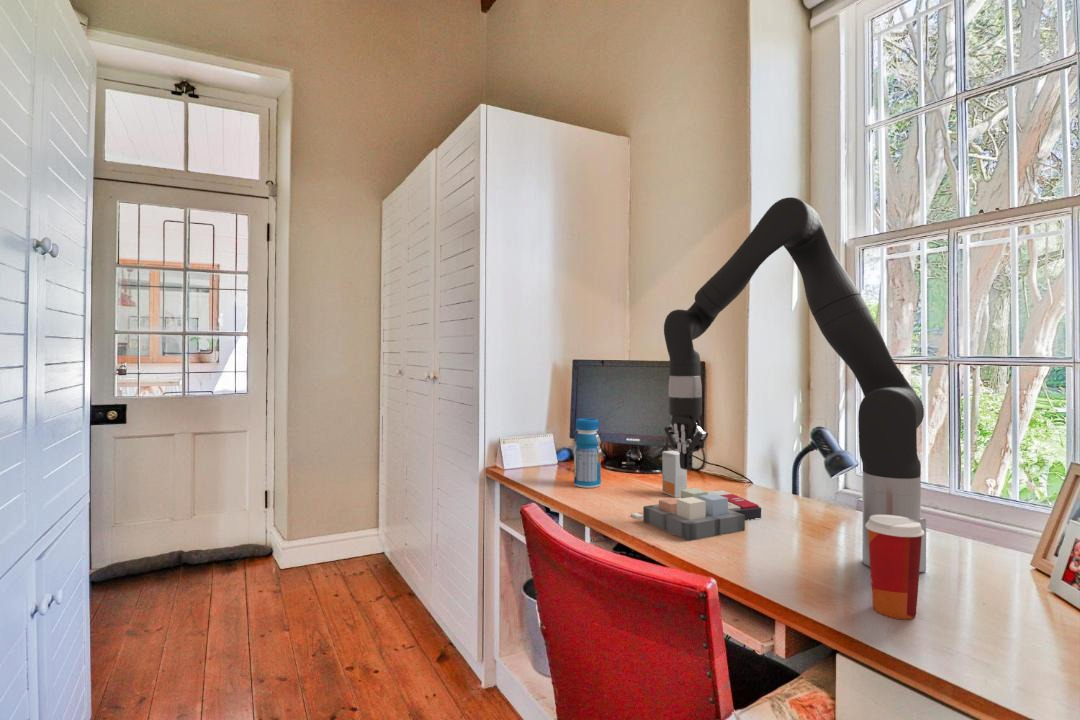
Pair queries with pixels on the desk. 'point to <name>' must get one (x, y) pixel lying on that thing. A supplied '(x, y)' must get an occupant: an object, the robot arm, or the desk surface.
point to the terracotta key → (668, 505)
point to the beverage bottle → (587, 454)
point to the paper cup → (894, 564)
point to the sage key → (692, 493)
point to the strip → (637, 515)
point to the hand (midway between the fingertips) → (685, 468)
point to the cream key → (691, 508)
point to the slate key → (715, 504)
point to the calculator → (740, 505)
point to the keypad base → (694, 523)
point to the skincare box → (673, 474)
